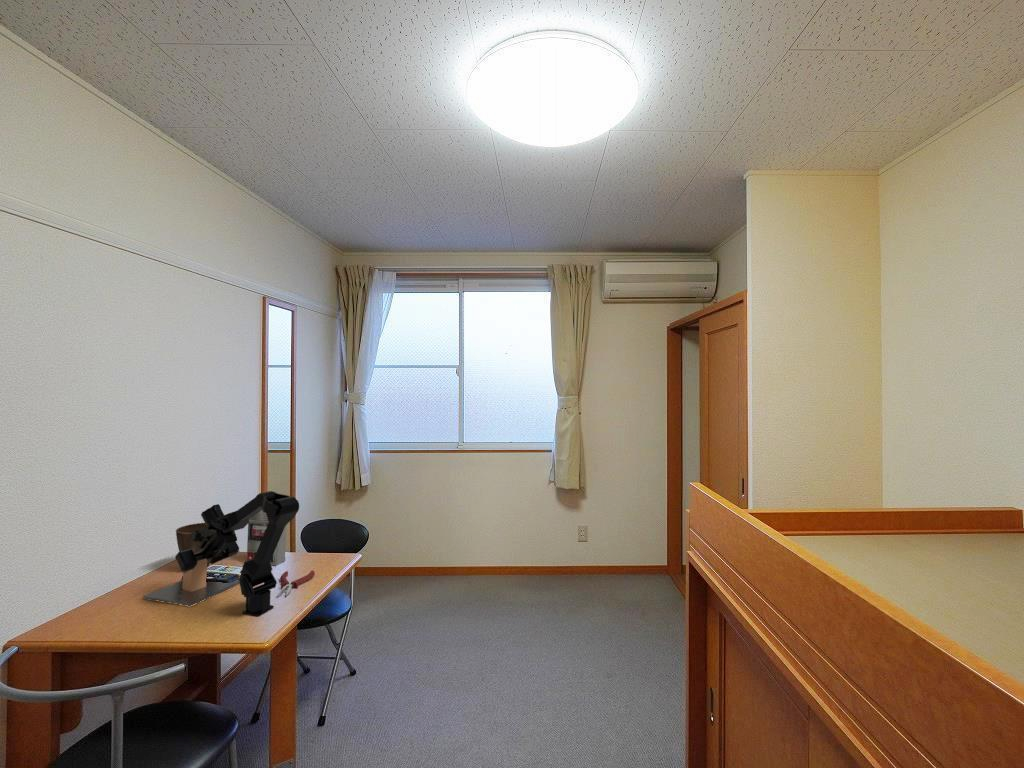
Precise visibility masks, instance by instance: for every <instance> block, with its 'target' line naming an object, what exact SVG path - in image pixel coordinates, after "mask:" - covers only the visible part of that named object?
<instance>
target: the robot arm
mask: <svg viewBox="0 0 1024 768" xmlns="http://www.w3.org/2000/svg"><path fill="white" fill-rule="evenodd" d="M261 510H263V512H265V513H267V518H268V521H269V523H268V525H267V528H266V530H265V533H264V535H263V538H262V540H261V542H260V545H259V547H258V550H257V552H256V554H255V557H254V559H252V560H249V561H246V562H245V561H244V563H243V565H242V569H241V570H240V571H239V573H240V574H239V578H238V580H239V582H240V584H239V587H240V592H241V595H242V596H243V597H244V598H245V609H244V610H243V611H242V613H243V615H248V614H249V615H248V616H253V615H255V617H260V616H262V615H264V614H265V613H267V612H269V611H270V610H272V609H274V607H275V606H274V605H271V595H272V593H271V592H272V591H271V590H272V589H275V588H276V586H277V584H278V581H277V580H276V577H275V576H274V575H273V573H272V571H273V565H271V564H270V561H271V559H272V556H273V554H274V551H275V549H276V547H277V544H278V542H279V540H280V537H281V535H282V532H283V530H284V528H285V526H286V527H287V525H288V524H289V523H290V522H291V521H292V520H293V519H294V518H295V517H296V515H297V514H298V512H299V510H300V503H299V500H298V499H297V498H296V497H294V496H290V495H288V494H283V493H282V494H281V493H277V492H276V491H272V490H268V491H264V492H260V493H258V494H256V496H255V497H254V498H253V499H251V500H249V501H248V502H247V503H245V504H244V505H243V506H241V507H240V508H238V509H237V510H235V511H232V512H229V513H227V514H224V512H223V510H222V508H221V504H213V505H212V506H211V507H208V508H206V509H205V510H204V511H202V512H201V513H200V516H201V518H202V519H203V523H205V524H206V526H207V527H205V528H200V529H197V530H196V531H193V532H192V533H191V535H190V539H191V540H192V541H193V542H195V541H197V542H198V543H200V544H199V545H198V547H199V549H200V548H201V552H200V553H197V554H194V553H193V551H192V549H187V550H184V551H180V552H179V551H178V552H177V554H176V555H175V560H176V562H177V564H178V566H179V568H180V570H181V571H182V574H183V573H186V572H188V571H190V570H192V569H194V568H195V566H196V565H197V561H200V560H203V559H207V560H208V559H211V561H210V565H214V564H216V563H218V562H221V561H223V560H226V559H227V558H228V559H229V558H230V557H232V556H235V555H237V554H238V552H239V551H240V547H239V545H238V536H237V533H236V531H238V530H242V529H244V528H246V526H248V523H249V519H250V518H251V517H253V516H254V515H255V514H257V513H258V512H260V511H261ZM214 530H215V531H214ZM268 610H269V611H268ZM242 613H241V614H242ZM261 614H262V615H261ZM259 615H260V616H259Z"/></svg>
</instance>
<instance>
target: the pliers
mask: <svg viewBox="0 0 1024 768" xmlns="http://www.w3.org/2000/svg"><path fill="white" fill-rule="evenodd" d="M315 572H316V571H314V570H311V571H310V572H309V573H308V574H307V575H304V576H301V577H300V578H297V579H295V580H293V581H291V582H290V581H288V575H289V571H288V570H287V571H284V572H283V573H282V574H281V575H280V578H279V579H280V580H279V581H280V583H281V584H280V590H279V592H278V594H277V595H276V597H277V598H278V597H280V596H282V595H284V594H285V593H286V594H285V596H286V597H287V596H288V595H289V594H291V592H292V589H296V590H298V589H299V586H301V585H304V584H306V583H308V582H310V581H311V580H312V579H313V578H314V577H315ZM286 590H287V591H286ZM283 593H284V594H283Z"/></svg>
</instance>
